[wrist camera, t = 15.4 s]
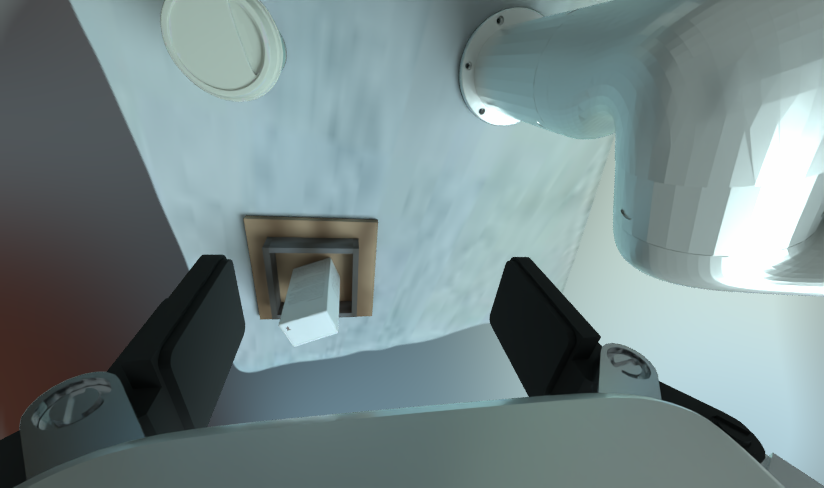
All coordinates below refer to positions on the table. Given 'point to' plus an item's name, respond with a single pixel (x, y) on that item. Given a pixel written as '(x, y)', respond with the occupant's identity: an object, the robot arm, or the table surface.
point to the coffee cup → (224, 46)
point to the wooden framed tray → (312, 258)
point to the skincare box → (311, 303)
